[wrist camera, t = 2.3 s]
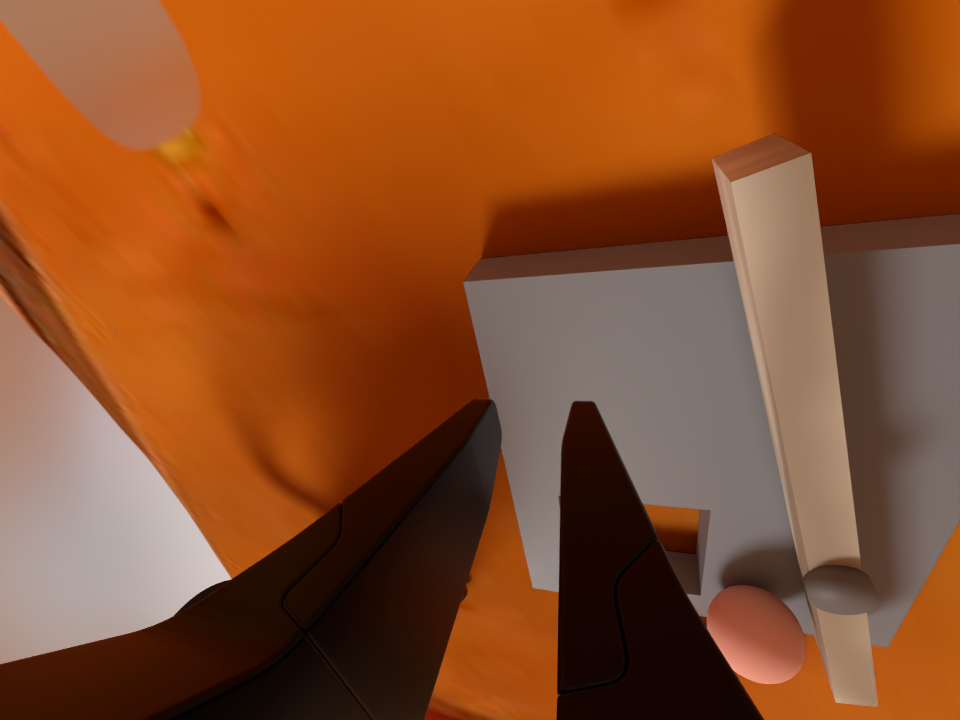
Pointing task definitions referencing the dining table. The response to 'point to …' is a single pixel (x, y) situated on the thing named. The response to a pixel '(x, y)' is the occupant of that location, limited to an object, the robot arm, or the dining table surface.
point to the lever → (801, 392)
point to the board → (733, 399)
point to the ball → (757, 634)
